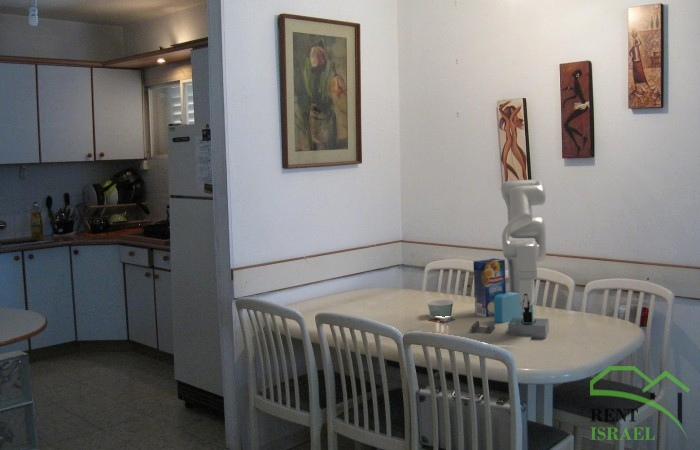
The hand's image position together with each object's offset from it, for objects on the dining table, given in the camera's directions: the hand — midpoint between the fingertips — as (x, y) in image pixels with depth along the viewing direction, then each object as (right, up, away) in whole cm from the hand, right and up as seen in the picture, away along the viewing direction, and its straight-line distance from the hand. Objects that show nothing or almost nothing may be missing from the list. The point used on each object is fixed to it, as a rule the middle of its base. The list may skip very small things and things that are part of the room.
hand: (528, 320), depth 287 cm
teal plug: (0, -3, 0) cm, 3 cm away
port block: (0, -6, 0) cm, 6 cm away
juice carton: (-7, -2, +40) cm, 40 cm away
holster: (-16, -6, +7) cm, 19 cm away
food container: (-30, -4, +40) cm, 50 cm away
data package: (-3, -4, +22) cm, 23 cm away
